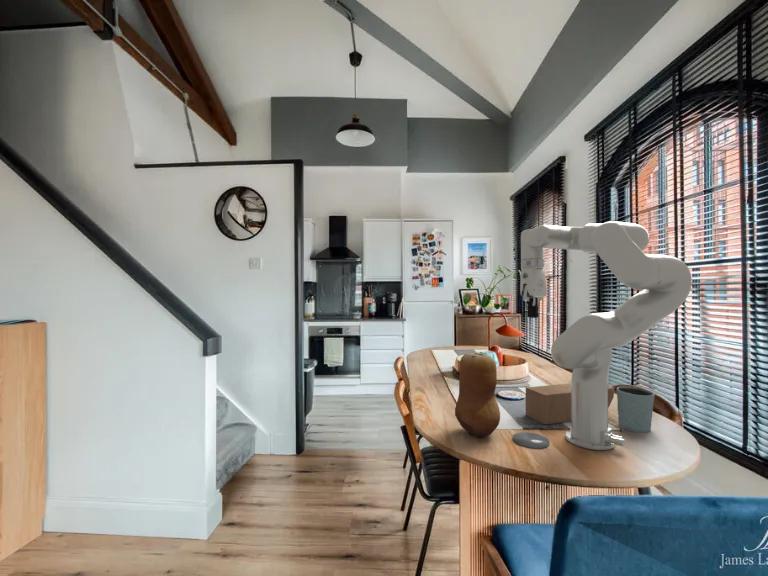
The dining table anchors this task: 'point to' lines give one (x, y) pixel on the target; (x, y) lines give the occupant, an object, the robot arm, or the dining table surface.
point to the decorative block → (552, 403)
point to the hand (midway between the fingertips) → (532, 317)
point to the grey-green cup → (635, 408)
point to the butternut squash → (477, 395)
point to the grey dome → (531, 440)
